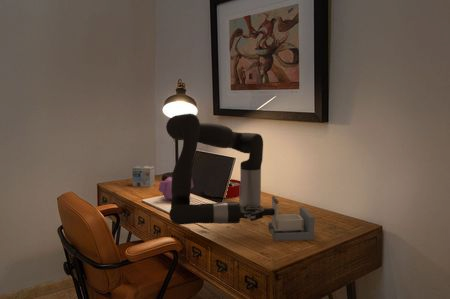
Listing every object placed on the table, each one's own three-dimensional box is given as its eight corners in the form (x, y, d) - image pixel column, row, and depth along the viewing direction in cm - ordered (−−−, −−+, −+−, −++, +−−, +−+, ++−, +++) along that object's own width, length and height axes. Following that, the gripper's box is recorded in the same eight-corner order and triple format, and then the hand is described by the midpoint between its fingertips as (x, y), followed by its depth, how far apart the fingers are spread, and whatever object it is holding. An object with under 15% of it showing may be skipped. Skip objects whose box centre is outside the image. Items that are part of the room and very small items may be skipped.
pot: (167, 206, 182) (166, 181, 180) (152, 198, 196) (151, 174, 195) (201, 200, 192) (201, 176, 190) (184, 193, 206) (184, 170, 205)
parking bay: (268, 228, 152) (268, 207, 150) (303, 227, 153) (303, 206, 152) (275, 240, 138) (275, 218, 137) (313, 239, 139) (314, 217, 138)
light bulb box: (132, 186, 221) (131, 167, 220) (137, 184, 228) (136, 165, 226) (150, 187, 219) (150, 168, 218) (155, 184, 226) (154, 165, 225)
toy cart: (271, 228, 148) (271, 195, 147) (298, 228, 149) (298, 195, 147) (275, 235, 141) (275, 200, 140) (303, 234, 142) (304, 200, 140)
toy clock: (195, 182, 205) (223, 177, 218) (195, 193, 206) (223, 187, 219) (221, 189, 190) (250, 182, 204) (221, 201, 191) (250, 194, 205)
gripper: (227, 207, 135) (278, 206, 137) (224, 197, 148) (270, 196, 150) (227, 229, 136) (277, 227, 138) (224, 217, 149) (270, 216, 151)
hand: (273, 211), depth 144 cm, fingers closed
